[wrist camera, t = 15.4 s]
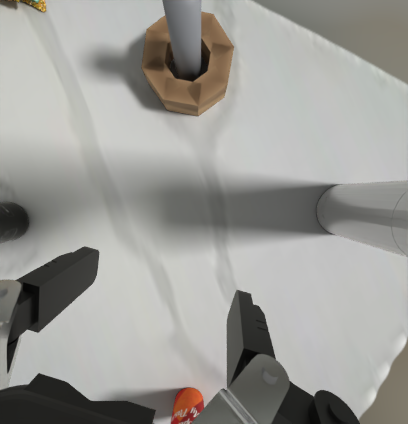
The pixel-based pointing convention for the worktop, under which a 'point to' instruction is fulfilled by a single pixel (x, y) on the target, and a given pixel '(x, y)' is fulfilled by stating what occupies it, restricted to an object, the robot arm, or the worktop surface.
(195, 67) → the dowel
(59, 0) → the worktop surface
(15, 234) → the supplement bottle
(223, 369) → the worktop surface
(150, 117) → the worktop surface
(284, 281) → the worktop surface
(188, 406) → the paper cup
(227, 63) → the brown wooden ring
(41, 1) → the green toy figurine
